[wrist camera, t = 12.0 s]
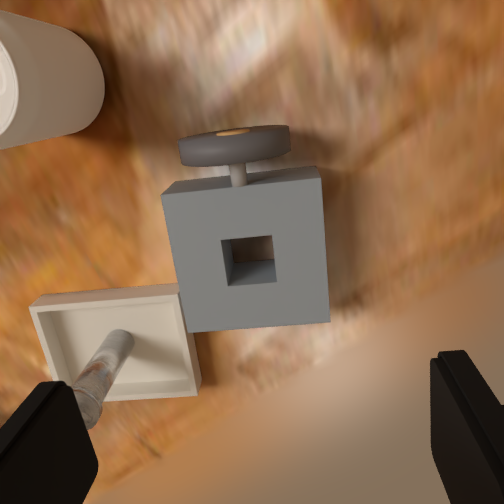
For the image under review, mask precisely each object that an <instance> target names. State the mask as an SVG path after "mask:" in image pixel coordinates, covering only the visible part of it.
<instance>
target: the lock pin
mask: <svg viewBox="0 0 504 504" xmlns="http://www.w3.org/2000/svg"><path fill="white" fill-rule="evenodd" d="M134 344H135V342H134V338H133V337H132V335H131V334H130V333H129V332H127V331H125V330H122V329H115V330H112V331H111V332H109V334H108V335H107V336H106V338H105V339H104V341H103V342H102V344H101V345H100V346H99V348H98V349H97V351H96V352H95V353H94V355H93V356H92V358H91V359H90V361H89V362H88V363H87V365H86V366H85V368H84V369H83V371H82V372H81V373H80V375H79V376H78V378H77V379H76V381H75V382H74V383H73V385H72V386H71V387H72V389H73V391H74V394H75V397H76V400H77V403H78V406H79V409H80V411H81V414H82V417H83V420H84V423H85V426H86V428H87V430H89V429H91V428H92V427H94V426H95V425H96V423H97V421H98V420H99V418H100V416H101V414H102V402H103V400H104V399H105V397H106V395H107V393H108V392H109V390H110V388H111V386H112V385H113V383H114V381H115V379H116V378H117V376H118V374H119V372H120V371H121V369H122V367H123V365H124V364H125V362H126V360H127V358H128V356H129V355H130V353H131V351H132V349H133V348H134Z"/></svg>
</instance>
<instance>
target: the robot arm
mask: <svg viewBox="0 0 504 504" xmlns="http://www.w3.org/2000/svg"><path fill="white" fill-rule="evenodd" d="M430 396H431V397H430V403H431V404H430V406H431V450H432V455H433V458H434V461H435V464H436V467H437V469H438V472H439V474H440V477H441V480H442V482H443V485H444V487H445V490H446V493H447V495H448V498H449V500H450V503H451V504H504V405H501V404H500V402H499V401H498V399H497V398H496V397H495V395H494V394H493V392H492V390H491V389H490V387H489V386H488V384H487V383H486V381H485V380H484V378H483V377H482V375H481V374H480V372H479V371H478V369H477V368H476V366H475V365H474V363H473V362H472V360H471V359H470V357H469V356H468V354H467V353H466V352H465V351H464V350H455V351H443V352H439V353H438V358H432V359H431V361H430ZM97 472H98V460H97V457H96V454H95V451H94V448H93V446H92V443H91V440H90V437H89V434H88V431H87V428H86V426H85V423H84V420H83V417H82V414H81V411H80V409H79V406H78V403H77V400H76V397H75V394H74V391H73V389H72V387H71V386H67V384H66V383H65V382H64V381H48V382H41V383H39V384H38V385H37V386H36V387H35V388H34V390H33V391H32V392H31V393H30V394H29V396H28V397H27V398H26V399H25V400H24V401H23V403H22V404H21V405H20V406H19V407H18V408H17V410H16V411H15V412H14V413H13V414H12V416H11V417H10V418H9V419H8V420H7V421H6V423H5V424H4V425H3V426H2V427H1V429H0V504H83V502H84V500H85V498H86V496H87V494H88V492H89V490H90V488H91V486H92V484H93V482H94V480H95V478H96V475H97Z"/></svg>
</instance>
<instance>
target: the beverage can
mask: <svg viewBox="0 0 504 504" xmlns="http://www.w3.org/2000/svg"><path fill="white" fill-rule="evenodd" d="M104 94H105V83H104V76H103V72H102V69H101V66H100V64H99V61H98V59H97V57H96V56H95V54H94V52H93V51H92V50H91V48H90V47H89V46H88V45H87V44H86V43H85V42H84V41H83V40H82V39H81V38H80V37H79V36H77V35H76V34H75V33H73V32H71V31H69V30H67V29H65V28H63V27H60V26H56V25H53V24H49V23H45V22H42V21H38V20H34V19H31V18H27V17H24V16H20V15H16V14H13V13H9V12H6V11H2V10H0V150H1V149H6V148H10V147H14V146H19V145H23V144H28V143H32V142H37V141H41V140H46V139H50V138H54V137H59V136H63V135H68V134H72V133H76V132H78V131H81V130H83V129H84V128H86V127H87V126H88V125H90V124H91V123H92V122H93V121H94V119H95V118H96V117H97V115H98V114H99V112H100V109H101V107H102V104H103V100H104Z"/></svg>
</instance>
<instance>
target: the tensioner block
mask: <svg viewBox="0 0 504 504" xmlns="http://www.w3.org/2000/svg"><path fill="white" fill-rule="evenodd" d="M178 146H179V152H180V158H181V163H182V165H185V166H191V167H209V166H223V165H229V168H230V176H220V177H211V178H202V179H193V180H184V181H175V182H174V183H173V184H172V185H171V186H170V187H169V188H168V189H167V190H165V191H164V192H163V193H162V194H161V200H162V205H163V210H164V215H165V220H166V225H167V230H168V235H169V240H170V245H171V250H172V255H173V261H174V266H175V271H176V276H177V281H178V286H179V291H180V296H181V301H182V306H183V311H184V316H185V321H186V326H187V331H188V333H195V332H208V331H221V330H234V329H248V328H261V327H274V326H287V325H301V324H314V323H327V322H330V307H329V292H328V277H327V261H326V246H325V231H324V215H323V200H322V185H321V177H320V174H319V172H318V170H317V168H316V166H311V167H302V168H293V169H284V170H275V171H266V172H257V173H248V174H247V173H246V165H245V163H247V162H253V161H258V160H264V159H268V158H272V157H276V156H280V155H283V154H285V153H287V152H289V151H290V150H291V148H290V136H289V126H286V125H267V126H254V127H244V128H236V129H228V130H221V131H214V132H208V133H203V134H198V135H193V136H189V137H185V138H182V139H179V140H178ZM267 235H272V240H273V249H274V259H273V260H262V261H250V262H239V263H234V261H233V254H232V248H231V241H230V239H236V238H246V237H257V236H267Z"/></svg>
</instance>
